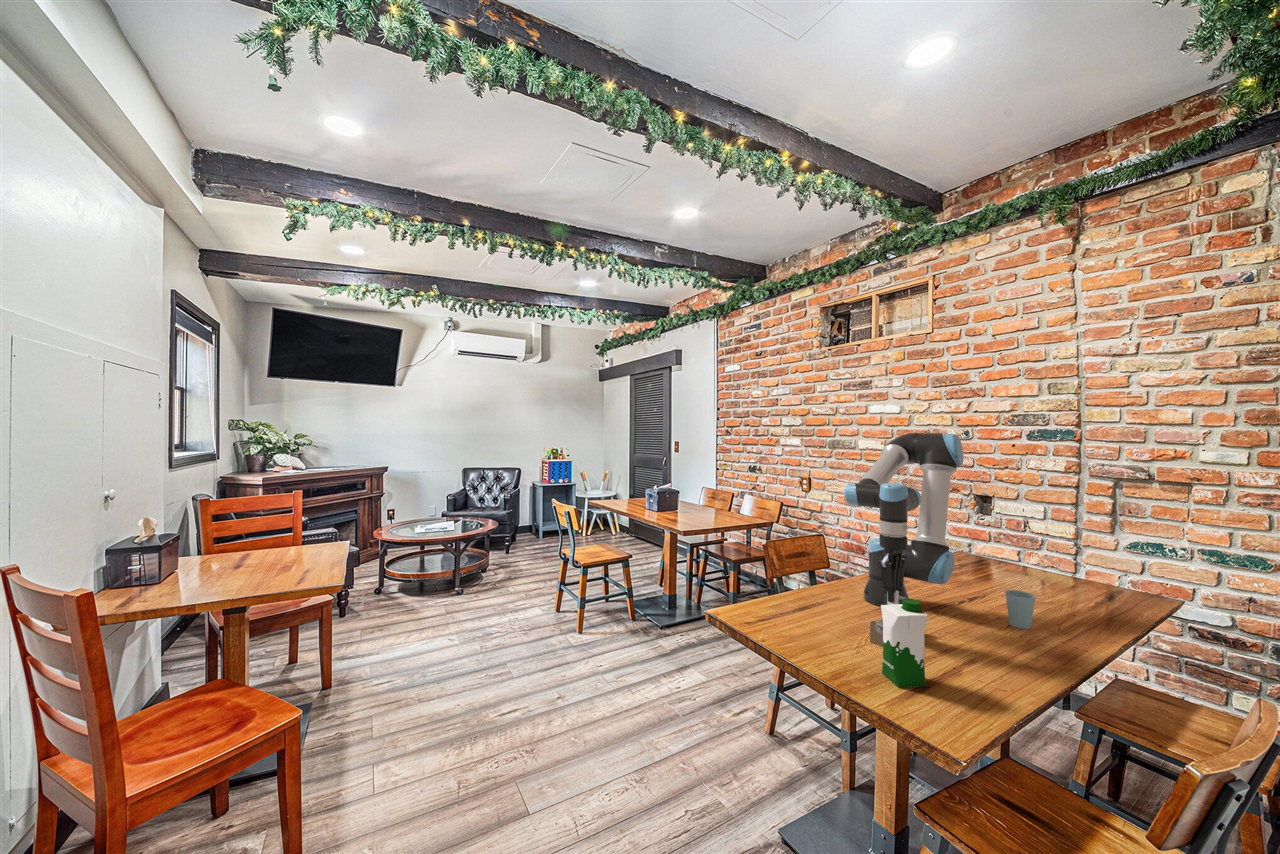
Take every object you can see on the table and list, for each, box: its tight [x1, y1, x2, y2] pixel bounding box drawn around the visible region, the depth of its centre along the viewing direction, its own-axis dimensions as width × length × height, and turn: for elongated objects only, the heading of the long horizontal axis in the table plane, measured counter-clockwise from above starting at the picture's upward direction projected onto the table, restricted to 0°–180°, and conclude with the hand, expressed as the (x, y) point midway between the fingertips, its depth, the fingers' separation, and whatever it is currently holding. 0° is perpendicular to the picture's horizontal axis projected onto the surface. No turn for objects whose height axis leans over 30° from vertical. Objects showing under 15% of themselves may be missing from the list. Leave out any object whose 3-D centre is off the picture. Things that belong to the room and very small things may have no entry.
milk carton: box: [880, 598, 929, 689], centre depth 122 cm, size 9×9×20 cm
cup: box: [1005, 589, 1036, 630], centre depth 157 cm, size 8×8×10 cm
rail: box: [869, 619, 883, 648], centre depth 147 cm, size 18×10×7 cm, turn 127°
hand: (892, 612), depth 146 cm, fingers closed
